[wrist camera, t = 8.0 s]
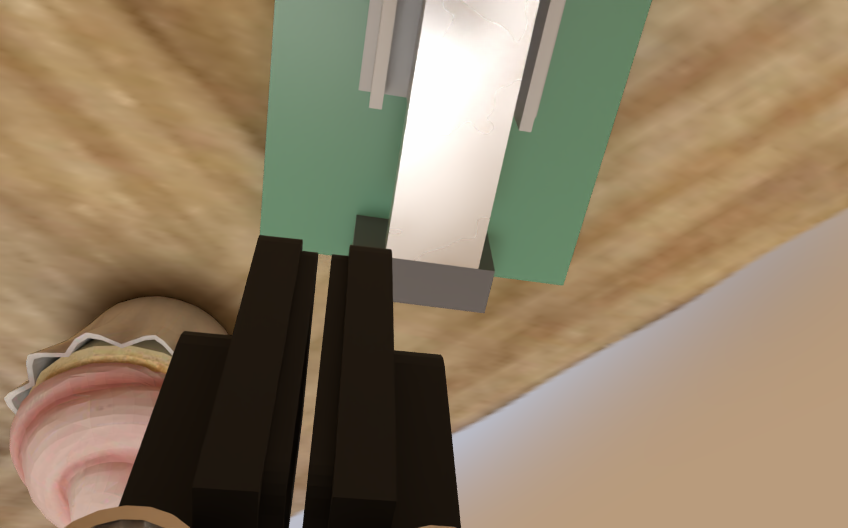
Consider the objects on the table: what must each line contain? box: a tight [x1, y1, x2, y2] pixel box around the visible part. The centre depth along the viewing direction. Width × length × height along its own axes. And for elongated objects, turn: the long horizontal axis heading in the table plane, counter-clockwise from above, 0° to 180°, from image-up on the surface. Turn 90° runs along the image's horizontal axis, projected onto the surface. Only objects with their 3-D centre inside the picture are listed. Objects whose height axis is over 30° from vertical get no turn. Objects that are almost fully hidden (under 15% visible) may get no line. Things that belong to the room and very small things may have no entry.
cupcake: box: [4, 296, 228, 528], centre depth 29 cm, size 9×9×10 cm
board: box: [260, 0, 652, 313], centre depth 23 cm, size 20×12×7 cm, turn 170°
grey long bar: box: [385, 0, 540, 269], centre depth 21 cm, size 15×3×2 cm, turn 171°
